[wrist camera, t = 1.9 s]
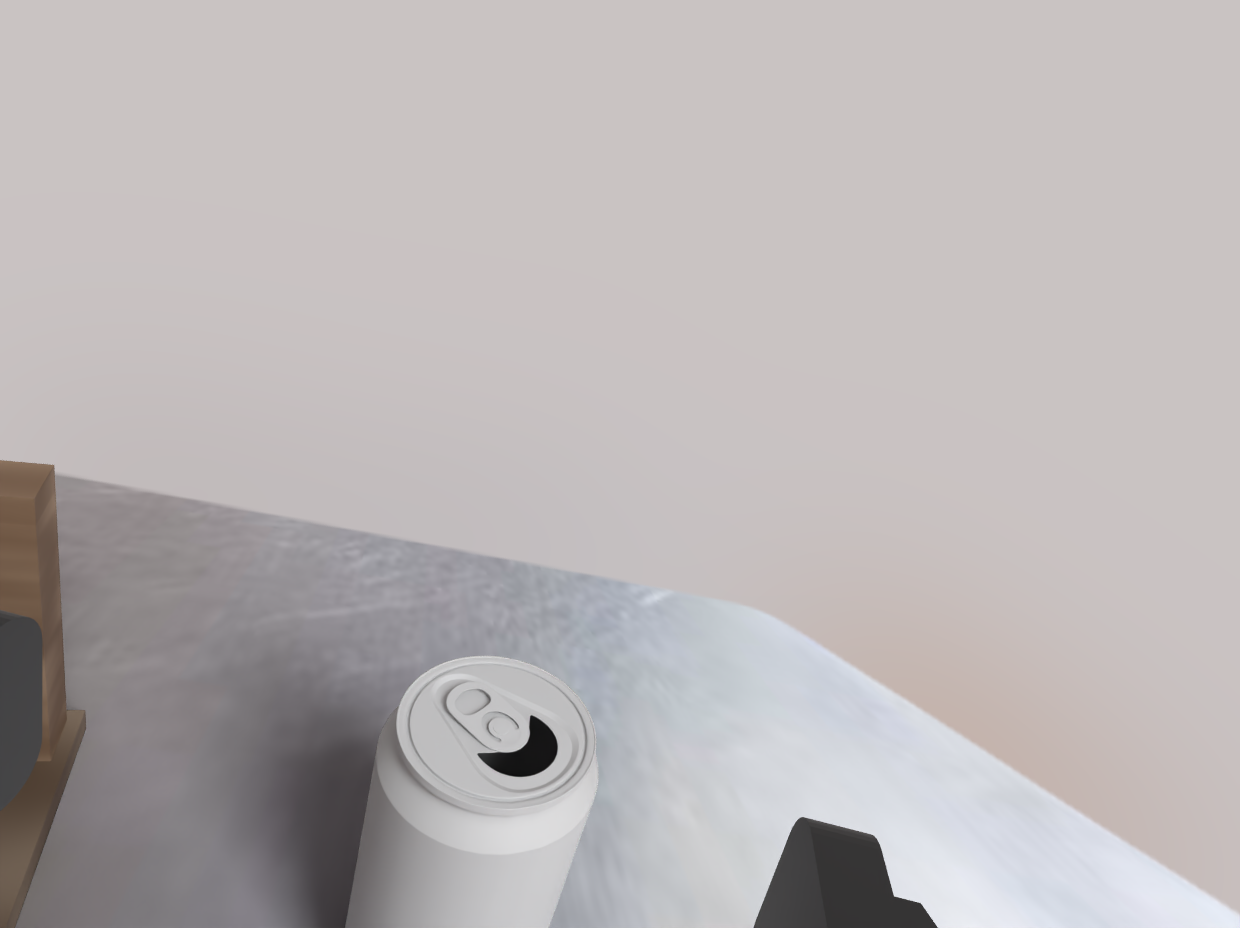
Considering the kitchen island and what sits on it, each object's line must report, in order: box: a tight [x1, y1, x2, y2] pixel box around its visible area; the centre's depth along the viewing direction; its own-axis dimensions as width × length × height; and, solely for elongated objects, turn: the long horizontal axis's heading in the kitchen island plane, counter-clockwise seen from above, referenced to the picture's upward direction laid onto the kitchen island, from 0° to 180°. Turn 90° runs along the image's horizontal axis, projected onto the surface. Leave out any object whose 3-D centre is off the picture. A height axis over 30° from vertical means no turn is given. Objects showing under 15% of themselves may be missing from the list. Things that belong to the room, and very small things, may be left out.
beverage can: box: [345, 656, 598, 928], centre depth 27 cm, size 6×6×12 cm
